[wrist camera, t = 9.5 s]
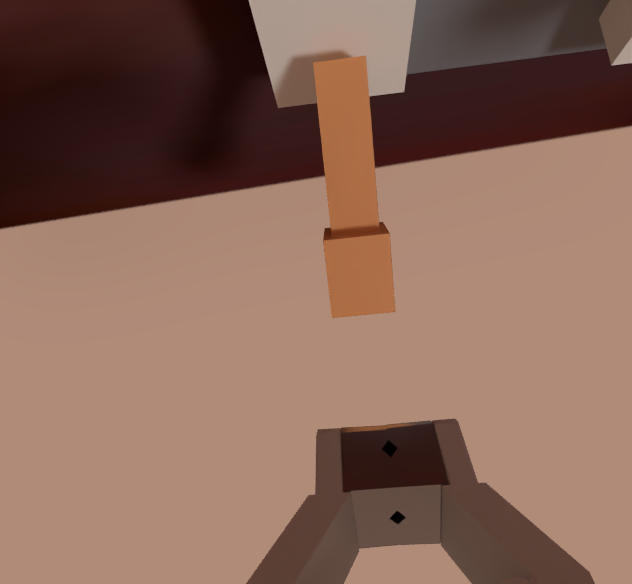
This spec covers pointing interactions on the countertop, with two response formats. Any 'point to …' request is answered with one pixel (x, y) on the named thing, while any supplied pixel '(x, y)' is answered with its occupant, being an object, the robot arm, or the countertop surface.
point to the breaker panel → (427, 36)
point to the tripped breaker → (352, 193)
